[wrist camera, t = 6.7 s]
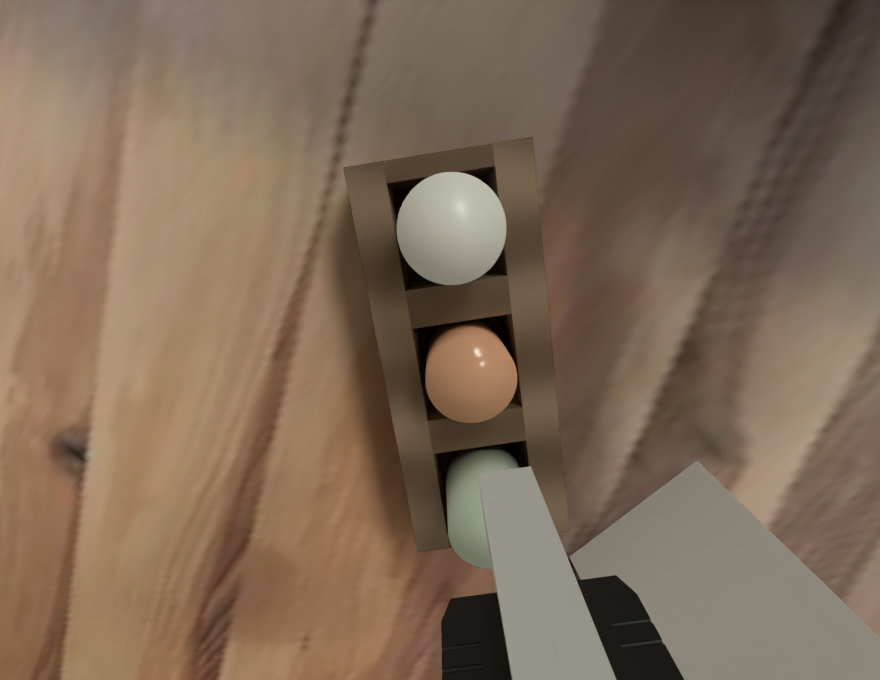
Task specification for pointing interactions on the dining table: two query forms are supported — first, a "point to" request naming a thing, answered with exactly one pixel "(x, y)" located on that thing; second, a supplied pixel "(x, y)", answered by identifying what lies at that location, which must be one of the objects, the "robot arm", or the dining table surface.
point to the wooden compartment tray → (428, 303)
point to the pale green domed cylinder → (471, 501)
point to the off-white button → (451, 228)
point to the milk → (728, 590)
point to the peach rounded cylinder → (469, 372)
